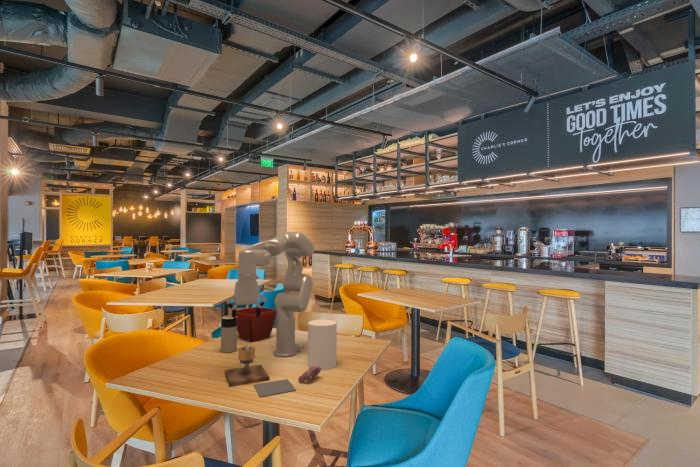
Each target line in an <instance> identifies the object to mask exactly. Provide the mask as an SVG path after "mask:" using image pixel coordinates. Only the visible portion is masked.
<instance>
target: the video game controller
mask: <svg viewBox="0 0 700 467" xmlns="http://www.w3.org/2000/svg"><path fill="white" fill-rule="evenodd" d="M321 371H322V370H321V368H320V367H319V366H317V365H316V366H312V367H310V368H309V367H308V369H307V370H305V371H304V372H303V373H302V374H301V375H300V376H298V378H297V379H298V382H299V383H304V382H305V381H307V382H310V381H311V380H315V379H316V378H317V376H318V375H319V374H320V373H321Z"/></svg>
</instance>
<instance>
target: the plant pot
mask: <svg viewBox="0 0 700 467" xmlns="http://www.w3.org/2000/svg"><path fill="white" fill-rule="evenodd" d="M256 308H257V306H253V307H247V308H240V309H236V316H237V318H236V321H237V336H238V337H239V339H240V340H243V341H247V342H250V343H255V342H258V341H261V340H266V339H269V338H270V336H271V335H272V334H271V333H272V331H273V327H274V324H275V320H276V318H277V316H276V309H273V308H268V307H265V306H262V307H261V308H260V315H259V318H257V317H256Z"/></svg>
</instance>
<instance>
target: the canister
mask: <svg viewBox="0 0 700 467" xmlns="http://www.w3.org/2000/svg"><path fill="white" fill-rule="evenodd" d="M337 327H338V322H337V321H336V320H333V319H326V318H325V319H323V318H321V319H313V320H310V321H308V323H307V366H308V369H309V368H310V367H312V366H316V365H317V366H319V367H320V368H321V371H325V370H326V371H328V370H331V369H334V368H335V367H336V366H337V350H338V349H337V344H338V343H337V342H338V341H337V340H338V339H337V337H338V335H337V333H338V332H337V329H338V328H337Z"/></svg>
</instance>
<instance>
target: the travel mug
mask: <svg viewBox="0 0 700 467" xmlns="http://www.w3.org/2000/svg"><path fill="white" fill-rule="evenodd" d="M236 318H237V316H236ZM221 319H222V322H221V325H220V327H221V328H220V330H221V331H220V332H221V334H220V352H221V353H223V352H224V353H223V354H225V353H226V354H229V353H234V352H236V351H237V349H238V332H237V321H236V319H234V318H233V317H232V314H230V315H224V316H221Z"/></svg>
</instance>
